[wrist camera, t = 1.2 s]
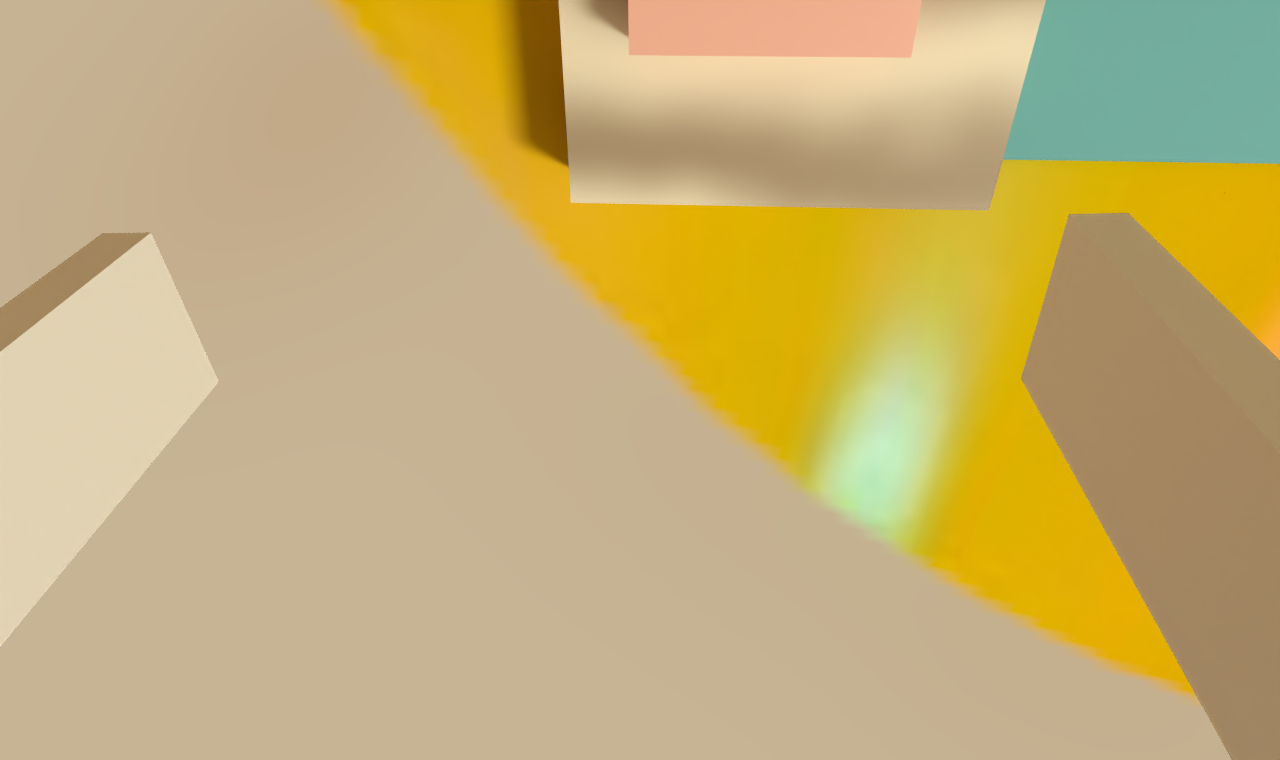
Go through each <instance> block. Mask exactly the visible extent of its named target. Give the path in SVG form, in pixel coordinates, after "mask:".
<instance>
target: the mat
mask: <svg viewBox="0 0 1280 760" xmlns="http://www.w3.org/2000/svg"><path fill="white" fill-rule="evenodd" d="M1003 159H1012V160H1078V161H1144V162H1211V163H1277V164H1280V0H1046V2H1045V6H1044V10H1043V13H1042V17H1041V21H1040V24H1039V28H1038V32H1037V35H1036V39H1035V43H1034V46H1033V50H1032V54H1031V57H1030V61H1029V65H1028V68H1027V72H1026V76H1025V79H1024V83H1023V87H1022V90H1021V94H1020V98H1019V101H1018V105H1017V109H1016V112H1015V116H1014V120H1013V123H1012V127H1011V131H1010V134H1009V138H1008V142H1007V145H1006V149H1005V153H1004V156H1003Z"/></svg>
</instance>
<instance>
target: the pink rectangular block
mask: <svg viewBox="0 0 1280 760" xmlns="http://www.w3.org/2000/svg"><path fill="white" fill-rule="evenodd" d="M921 2H922V0H628V24H629V55H662V56H777V57H892V58H911V55H912V50H913V45H914V39H915V34H916V29H917V23H918V18H919V13H920V7H921Z"/></svg>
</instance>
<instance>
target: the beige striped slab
mask: <svg viewBox="0 0 1280 760" xmlns="http://www.w3.org/2000/svg"><path fill="white" fill-rule="evenodd" d="M1045 2H1046V0H922V2H921V7H920V13H919V18H918V23H917V29H916V34H915V39H914V45H913V50H912V55H911V58H892V57H777V56H662V55H629V24H628V0H559V16H560V33H561V49H562V65H563V81H564V98H565V114H566V130H567V146H568V163H569V179H570V195H571V203H618V204H672V205H727V206H781V207H836V208H890V209H945V210H989V208H990V204H991V200H992V197H993V193H994V189H995V186H996V182H997V178H998V175H999V171H1000V167H1001V164H1002V160H1003V156H1004V153H1005V149H1006V145H1007V142H1008V138H1009V134H1010V131H1011V127H1012V123H1013V120H1014V116H1015V112H1016V109H1017V105H1018V101H1019V98H1020V94H1021V90H1022V87H1023V83H1024V79H1025V76H1026V72H1027V68H1028V65H1029V61H1030V57H1031V54H1032V50H1033V46H1034V43H1035V39H1036V35H1037V32H1038V28H1039V24H1040V21H1041V17H1042V13H1043V10H1044V6H1045Z"/></svg>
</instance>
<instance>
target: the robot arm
mask: <svg viewBox="0 0 1280 760" xmlns="http://www.w3.org/2000/svg"><path fill="white" fill-rule="evenodd" d="M1021 379H1022V381H1023V383H1024V384H1025V386H1026V388H1027V390H1028V392H1029V393H1030V395H1031V397H1032V399H1033V401H1034V402H1035V404H1036V406H1037V408H1038V410H1039V411H1040V413H1041V415H1042V417H1043V419H1044V421H1045V422H1046V424H1047V426H1048V428H1049V430H1050V431H1051V433H1052V435H1053V437H1054V439H1055V440H1056V442H1057V444H1058V446H1059V448H1060V449H1061V451H1062V453H1063V455H1064V457H1065V459H1066V460H1067V462H1068V464H1069V466H1070V468H1071V469H1072V471H1073V473H1074V475H1075V477H1076V478H1077V480H1078V482H1079V484H1080V486H1081V487H1082V489H1083V491H1084V493H1085V495H1086V497H1087V498H1088V500H1089V502H1090V504H1091V506H1092V507H1093V509H1094V511H1095V513H1096V515H1097V516H1098V518H1099V520H1100V522H1101V524H1102V525H1103V527H1104V529H1105V531H1106V533H1107V535H1108V536H1109V538H1110V540H1111V542H1112V544H1113V545H1114V547H1115V549H1116V551H1117V553H1118V554H1119V556H1120V558H1121V560H1122V562H1123V563H1124V565H1125V567H1126V569H1127V571H1128V573H1129V574H1130V576H1131V578H1132V580H1133V582H1134V583H1135V585H1136V587H1137V589H1138V591H1139V592H1140V594H1141V596H1142V598H1143V600H1144V601H1145V603H1146V605H1147V607H1148V609H1149V611H1150V612H1151V614H1152V616H1153V618H1154V620H1155V621H1156V623H1157V625H1158V627H1159V629H1160V630H1161V632H1162V634H1163V636H1164V638H1165V639H1166V641H1167V643H1168V645H1169V647H1170V649H1171V650H1172V652H1173V654H1174V656H1175V658H1176V659H1177V661H1178V663H1179V665H1180V667H1181V668H1182V670H1183V672H1184V674H1185V676H1186V677H1187V679H1188V681H1189V683H1190V685H1191V687H1192V688H1193V690H1194V692H1195V694H1196V696H1197V697H1198V699H1199V701H1200V703H1201V705H1202V706H1203V708H1204V710H1205V712H1206V714H1207V715H1208V717H1209V719H1210V721H1211V722H1212V725H1213V726H1214V728H1215V730H1216V732H1217V733H1218V735H1219V737H1220V739H1221V741H1222V743H1223V744H1224V746H1225V748H1226V750H1227V752H1228V753H1229V755H1230V757H1231V759H1232V760H1280V360H1279V359H1278V358H1277V357H1276V356H1275V355H1274V354H1273V353H1272V352H1271V351H1270V350H1269V349H1268V348H1267V347H1266V346H1264V345H1263V344H1262V343H1261V342H1260V341H1259V340H1258V339H1257V338H1256V337H1255V336H1254V335H1253V334H1252V333H1251V332H1250V331H1249V330H1248V329H1247V328H1246V327H1245V326H1244V325H1243V324H1242V323H1241V322H1240V321H1239V320H1238V319H1237V318H1236V317H1235V316H1234V315H1233V314H1232V313H1230V312H1229V311H1228V310H1227V309H1226V308H1225V307H1224V306H1223V305H1222V304H1221V303H1220V302H1219V301H1218V300H1217V299H1216V298H1215V297H1214V296H1213V295H1212V294H1211V293H1210V292H1209V291H1208V290H1207V289H1206V288H1205V287H1204V286H1203V285H1202V284H1201V283H1200V282H1199V281H1198V280H1197V279H1195V278H1194V277H1193V276H1192V275H1191V274H1190V273H1189V272H1188V271H1187V270H1186V269H1185V268H1184V267H1183V266H1182V265H1181V264H1180V263H1179V262H1178V261H1177V260H1176V259H1175V258H1174V257H1173V256H1172V255H1171V254H1170V253H1169V252H1168V251H1167V250H1166V249H1165V248H1164V247H1163V246H1161V245H1160V244H1159V243H1158V242H1157V241H1156V240H1155V239H1154V238H1153V237H1152V236H1151V235H1150V234H1149V233H1148V232H1147V231H1146V230H1145V229H1144V228H1143V227H1142V226H1141V225H1140V224H1139V223H1138V222H1137V221H1136V220H1135V219H1134V218H1133V217H1132V216H1131V215H1130V214H1129V213H1110V214H1069V216H1068V220H1067V223H1066V227H1065V230H1064V233H1063V237H1062V240H1061V244H1060V247H1059V251H1058V254H1057V257H1056V261H1055V264H1054V268H1053V271H1052V275H1051V278H1050V281H1049V285H1048V288H1047V292H1046V295H1045V299H1044V302H1043V305H1042V309H1041V312H1040V316H1039V319H1038V323H1037V326H1036V330H1035V333H1034V336H1033V340H1032V343H1031V347H1030V350H1029V354H1028V357H1027V360H1026V364H1025V367H1024V371H1023V374H1022V378H1021ZM218 382H219V381H218V379H217V377H216V375H215V373H214V370H213V368H212V366H211V364H210V362H209V359H208V357H207V355H206V353H205V351H204V348H203V346H202V344H201V342H200V340H199V337H198V335H197V333H196V331H195V329H194V326H193V324H192V322H191V320H190V318H189V316H188V313H187V311H186V309H185V306H184V304H183V302H182V300H181V298H180V295H179V293H178V291H177V289H176V287H175V284H174V283H173V280H172V278H171V276H170V273H169V271H168V269H167V267H166V265H165V263H164V261H163V258H162V256H161V254H160V251H159V249H158V247H157V245H156V243H155V240H154V238H153V236H152V234H151V233H103V234H101V235H100V236H98V237H97V238H96V239H94V240H93V241H91V242H90V243H89V244H87V245H86V246H85V247H83V248H82V249H81V250H79V251H78V252H76V253H75V254H74V255H72V256H71V257H70V258H68V259H67V260H65V261H64V262H63V263H62V264H60V265H59V266H57V267H56V268H54V269H53V270H52V271H50V272H49V273H48V274H46V275H45V276H44V277H42V278H41V279H39V280H38V281H37V282H35V283H34V284H33V285H31V286H30V287H29V288H27V289H26V290H24V291H23V292H21V293H20V294H19V295H17V296H16V297H15V298H13V299H12V300H10V301H9V302H8V303H6V304H5V305H4V306H3V307H1V308H0V646H1V645H2V644H3V643H4V641H5V640H6V639H7V638H8V637H9V635H10V634H11V633H12V632H13V630H14V629H15V628H16V627H17V626H18V625H19V623H20V622H21V621H22V620H23V618H24V617H25V616H26V615H27V613H28V612H29V611H30V610H31V609H32V608H33V606H34V605H35V604H36V603H37V602H38V600H39V599H40V598H41V597H42V595H43V594H44V593H45V592H46V591H47V589H48V588H49V587H50V586H51V585H52V583H53V582H54V581H55V580H56V578H57V577H58V576H59V575H60V573H61V572H62V571H63V570H64V569H65V568H66V566H67V565H68V564H69V563H70V561H71V560H72V559H73V558H74V557H75V555H76V554H77V553H78V551H80V549H81V548H82V547H83V546H84V544H85V543H86V542H87V541H88V540H89V538H90V537H91V536H92V535H93V534H94V532H95V531H96V530H97V529H98V528H99V526H100V525H101V524H102V523H103V521H104V520H105V519H106V518H107V517H108V515H109V514H110V513H111V512H112V511H113V509H114V508H115V506H117V504H118V503H119V502H120V501H121V500H122V498H123V497H124V496H125V495H126V494H127V492H128V491H129V490H130V489H131V487H132V486H133V485H134V484H135V483H136V481H137V480H138V479H139V478H140V477H141V475H142V474H143V473H144V472H145V470H146V469H147V468H148V467H149V466H150V464H151V463H152V462H153V461H154V460H155V458H156V457H157V456H158V455H159V454H160V452H161V451H162V450H163V449H164V447H165V446H166V445H167V444H168V442H169V441H170V440H171V439H172V438H173V437H174V435H175V434H176V433H177V432H178V430H179V429H180V428H181V427H182V425H183V424H184V423H185V422H186V421H187V420H188V418H189V417H190V416H191V415H192V413H193V412H194V411H195V410H196V409H197V407H198V406H199V405H200V404H201V402H202V401H203V400H204V399H205V398H206V396H207V395H208V394H209V393H210V392H211V390H212V389H213V388H214V387H215V385H216V384H217V383H218Z"/></svg>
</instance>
